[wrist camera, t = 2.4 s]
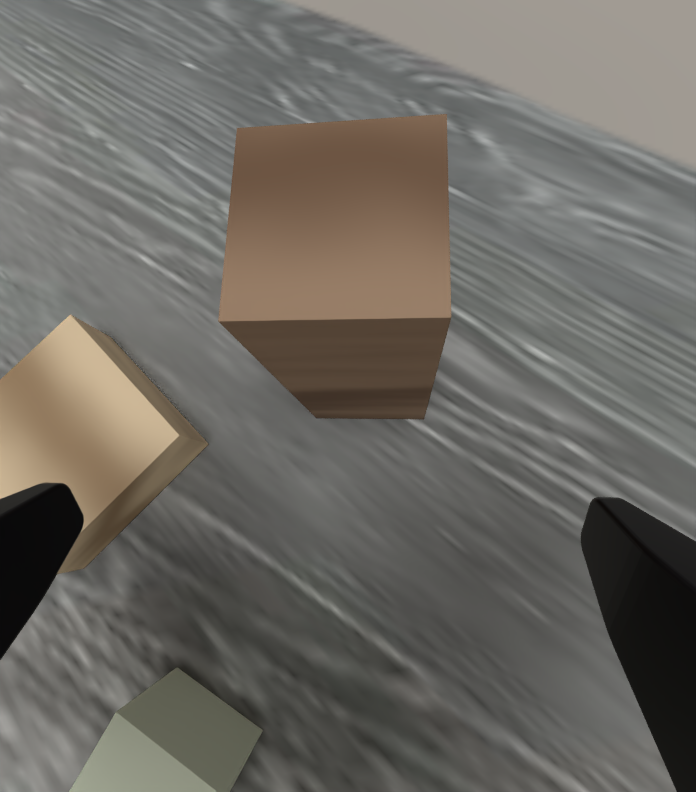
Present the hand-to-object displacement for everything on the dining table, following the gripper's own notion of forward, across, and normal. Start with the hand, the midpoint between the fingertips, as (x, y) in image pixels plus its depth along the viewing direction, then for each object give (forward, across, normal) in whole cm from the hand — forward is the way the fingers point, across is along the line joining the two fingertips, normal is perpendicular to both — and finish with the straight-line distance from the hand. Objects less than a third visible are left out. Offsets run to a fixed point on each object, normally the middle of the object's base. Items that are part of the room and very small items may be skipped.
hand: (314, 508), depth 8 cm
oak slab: (+11, -13, -8) cm, 19 cm away
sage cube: (+2, -7, -16) cm, 18 cm away
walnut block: (+14, 0, -5) cm, 15 cm away
